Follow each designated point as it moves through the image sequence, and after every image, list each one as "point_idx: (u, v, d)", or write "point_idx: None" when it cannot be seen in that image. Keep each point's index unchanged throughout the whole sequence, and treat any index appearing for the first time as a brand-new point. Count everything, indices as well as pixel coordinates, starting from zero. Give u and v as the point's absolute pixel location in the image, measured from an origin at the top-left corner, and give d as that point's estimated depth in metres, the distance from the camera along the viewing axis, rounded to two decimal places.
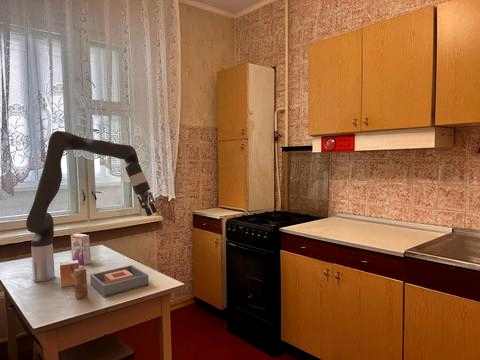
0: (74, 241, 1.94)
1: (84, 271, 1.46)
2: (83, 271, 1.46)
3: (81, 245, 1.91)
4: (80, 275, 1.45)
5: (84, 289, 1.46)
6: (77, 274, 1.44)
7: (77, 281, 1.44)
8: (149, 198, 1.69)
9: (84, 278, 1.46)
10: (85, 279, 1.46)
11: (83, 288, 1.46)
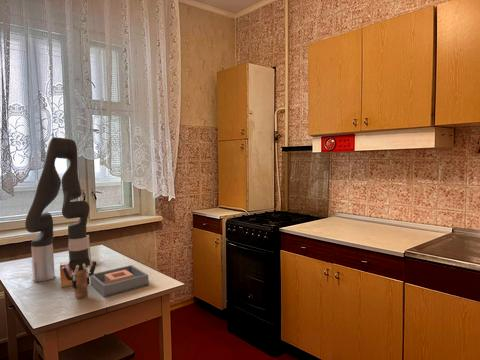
0: None
1: (84, 271, 1.46)
2: (83, 271, 1.46)
3: None
4: (80, 275, 1.45)
5: (84, 289, 1.46)
6: (77, 274, 1.44)
7: (77, 281, 1.44)
8: (82, 267, 1.46)
9: (84, 278, 1.46)
10: (85, 279, 1.46)
11: (83, 288, 1.46)
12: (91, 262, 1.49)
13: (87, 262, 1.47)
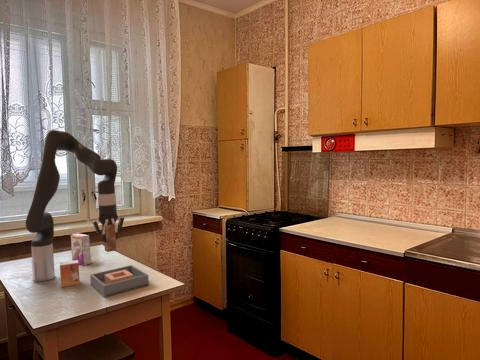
0: (74, 241, 1.94)
1: (113, 226, 1.54)
2: (112, 225, 1.54)
3: (81, 245, 1.91)
4: (109, 229, 1.53)
5: (113, 243, 1.54)
6: (106, 228, 1.52)
7: (106, 235, 1.53)
8: (111, 222, 1.54)
9: (113, 232, 1.54)
10: (114, 233, 1.54)
11: (112, 242, 1.54)
12: (119, 218, 1.57)
13: (115, 217, 1.56)
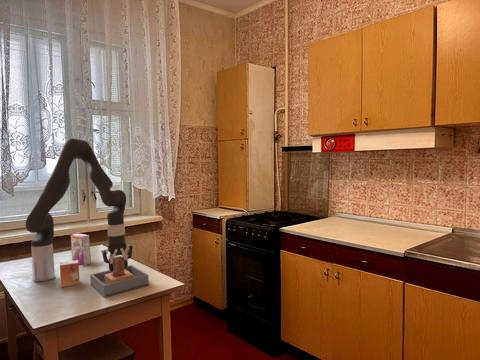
0: (74, 241, 1.94)
1: (122, 259, 1.58)
2: (121, 259, 1.58)
3: (81, 245, 1.91)
4: (118, 263, 1.57)
5: None
6: (116, 262, 1.56)
7: (116, 268, 1.56)
8: (120, 252, 1.58)
9: (122, 266, 1.58)
10: (123, 267, 1.58)
11: (121, 275, 1.58)
12: (128, 246, 1.61)
13: (124, 247, 1.59)
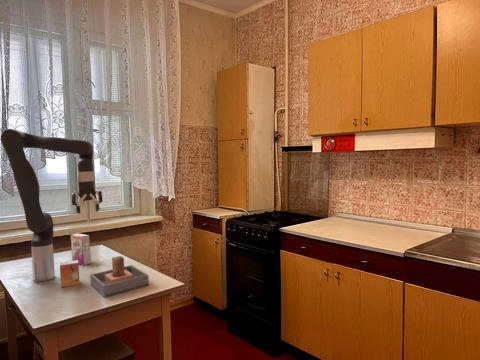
0: (74, 241, 1.94)
1: (122, 259, 1.58)
2: (121, 259, 1.58)
3: (81, 245, 1.91)
4: (118, 263, 1.57)
5: None
6: (116, 262, 1.56)
7: (116, 268, 1.56)
8: None
9: (122, 266, 1.58)
10: (123, 267, 1.58)
11: (121, 275, 1.58)
12: (97, 192, 1.77)
13: (93, 193, 1.75)
